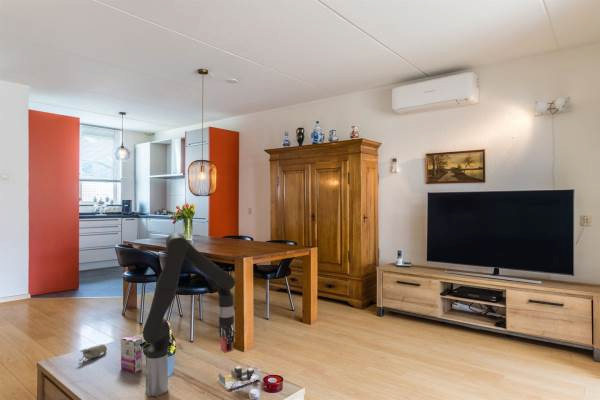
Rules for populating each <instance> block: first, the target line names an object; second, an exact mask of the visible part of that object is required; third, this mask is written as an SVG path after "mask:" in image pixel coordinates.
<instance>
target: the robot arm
mask: <svg viewBox="0 0 600 400" xmlns="http://www.w3.org/2000/svg"><path fill="white" fill-rule="evenodd" d="M165 240H166V241H165V246H166V258H165V262H164V266H163V269H162V271H161V272H160V274H159V276H158V278H157V282H156V283H155V284H156V285H155V288H154V294H153V298H152V300H151V306H150V309H149V312H148V315H147V319H146V321H145V323H144V326H143V329H142V336H143V338H142V339H144V341H145V342H146V343H147V344H150V345H149V346H148V348H147V349H146V371H145V393H146V394H147V396H148V397H149V398H150V397H157V396H162V395H164V394H166V393H167V392H168V391H169V384H168V383H169V378H168V377H169V375H168V374H169V372H168V371H169V369H168V368H169V366H168V365H169V363H168V361H169V360H168V350H169V348H170V336H171V335H170V334H171V333H170V332H171V331H170V329H171V328H170V324H169V322H168V320H166V319H165V314H166V313H167V311H168V309H169V307H170V306H171V305H172V303H173V301H174V299H175V297H176V293H177V291H178V290H177V289H178V284H179V281H180V280H179V279H180V276H181V269H182V265H183V263H184V260H185V259H186V260H187V261H188V262H190V263H191V264H192V266H194V267H195V268H196V269H197V270H198V271H199V272H201V274H203V275H204V276H205V277H207V278H208V279H210V280H212V281H214V282H215V283H216V289H217V293H218V295H217V296H218V333H219V338H220V339H221V338H222V337H225V339H226V342H227V351H230V350H231V343H233V344H234V341H235V335H236V332H235V330H234V331H233V328H232V326H233V325H235V324H234V323H235V309H234V295H233V293H232V292H231V290H232V289H233V288H234V287H235V285H236V280H235V278H234V276H232V275H231V274H230V273H228V272H226V271H225V270H223V269H222V268H221V267H219V266H218V265H217V264H216V263H214V262H213V261H211V259H209V258H208V257H207V256H205V255H203V254H202V253H201V252H200V251H199V250H198V249H196V248H195V247H194V246H193V245H192V244H191V243H190V242H189V241H188V240H187V239H186V237H185V235H183V234H182V233H178V232H174V233H171V234H169V235H168V236H167V237H166V239H165ZM227 336H228V337H227ZM228 338H229V339H228ZM230 352H231V351H230Z"/></svg>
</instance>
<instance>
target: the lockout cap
mask: <svg viewBox="0 0 600 400" xmlns="http://www.w3.org/2000/svg"><path fill="white" fill-rule="evenodd" d="M227 337H228V336H227ZM228 339H229V338H228ZM220 351H221V352H223V353H224V354H227V353H229V352H233V351H234V342H233V343H231V350H230V351H227V342H226V339H225V337H222V338H220Z"/></svg>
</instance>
